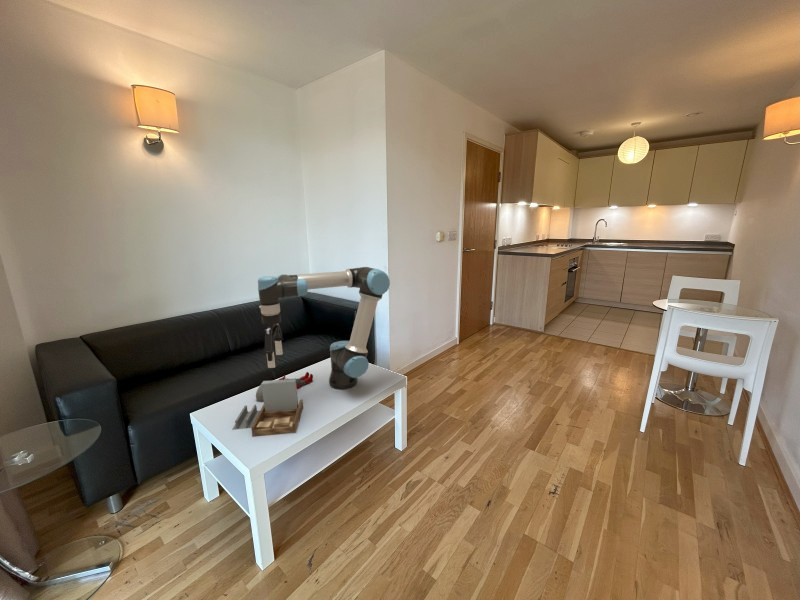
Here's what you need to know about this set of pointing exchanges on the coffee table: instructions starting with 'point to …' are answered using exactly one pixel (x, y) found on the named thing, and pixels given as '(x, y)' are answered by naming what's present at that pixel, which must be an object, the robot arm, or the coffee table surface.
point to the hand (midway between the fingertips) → (275, 360)
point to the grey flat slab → (280, 395)
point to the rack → (274, 415)
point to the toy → (299, 381)
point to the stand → (246, 418)
